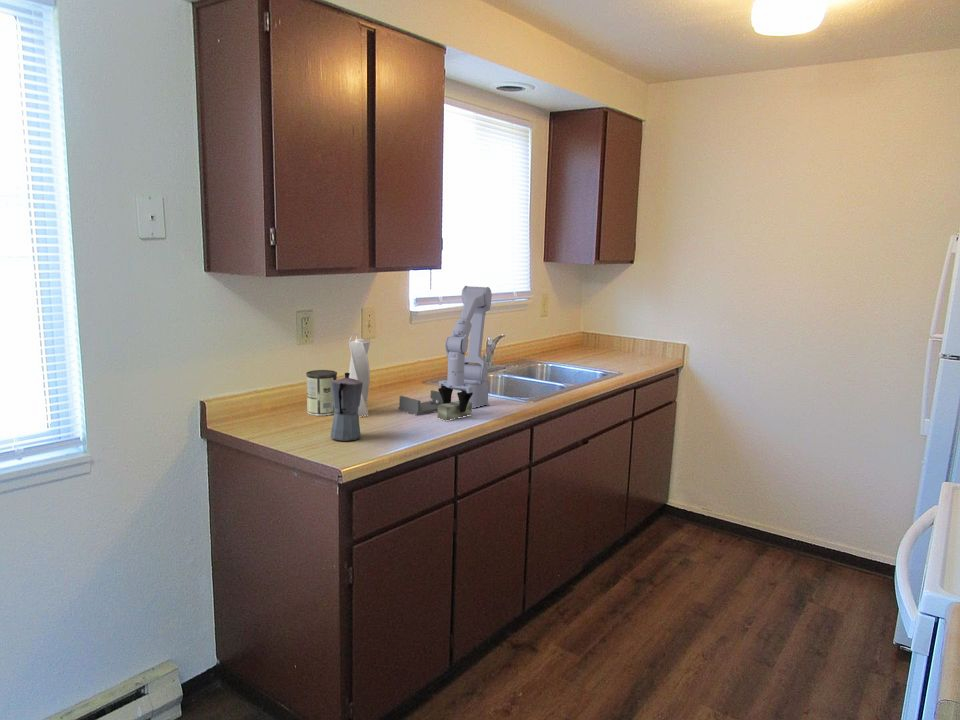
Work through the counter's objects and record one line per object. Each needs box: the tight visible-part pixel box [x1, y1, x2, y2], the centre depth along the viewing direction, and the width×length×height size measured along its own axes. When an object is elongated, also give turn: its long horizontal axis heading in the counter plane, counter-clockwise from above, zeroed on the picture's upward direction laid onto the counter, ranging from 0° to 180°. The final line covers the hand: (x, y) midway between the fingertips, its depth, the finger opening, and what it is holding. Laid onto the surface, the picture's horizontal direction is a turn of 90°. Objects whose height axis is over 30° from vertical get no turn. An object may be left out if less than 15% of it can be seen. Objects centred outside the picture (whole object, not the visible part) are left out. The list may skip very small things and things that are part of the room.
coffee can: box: [305, 369, 338, 417], centre depth 229 cm, size 10×10×14 cm
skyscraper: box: [348, 333, 371, 418], centre depth 227 cm, size 8×8×28 cm
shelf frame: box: [397, 389, 443, 416], centre depth 240 cm, size 17×10×5 cm, turn 137°
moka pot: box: [329, 372, 363, 442], centre depth 199 cm, size 10×15×20 cm, turn 2°
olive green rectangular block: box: [436, 400, 473, 421], centre depth 230 cm, size 12×4×5 cm, turn 136°
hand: (454, 409), depth 229 cm, fingers open, 7 cm apart
